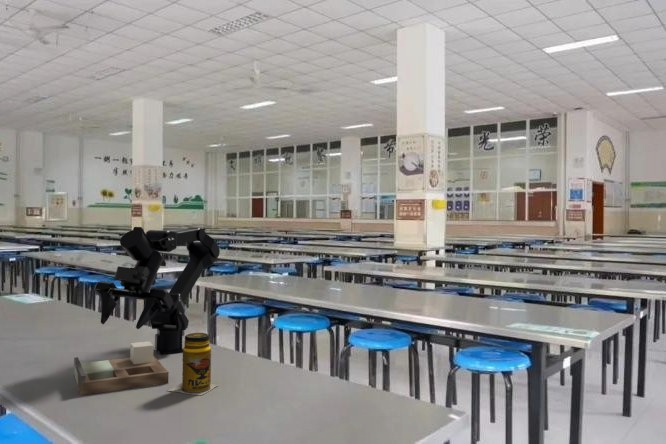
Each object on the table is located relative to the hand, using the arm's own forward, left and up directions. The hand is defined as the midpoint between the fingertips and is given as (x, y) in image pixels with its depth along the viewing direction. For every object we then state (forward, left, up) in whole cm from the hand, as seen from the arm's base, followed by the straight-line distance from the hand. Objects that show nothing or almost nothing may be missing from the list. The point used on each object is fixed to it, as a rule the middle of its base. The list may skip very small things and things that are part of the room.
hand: (119, 325), depth 129 cm
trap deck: (0, +5, -11) cm, 12 cm away
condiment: (-13, +19, -12) cm, 25 cm away
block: (-5, +1, -9) cm, 10 cm away
